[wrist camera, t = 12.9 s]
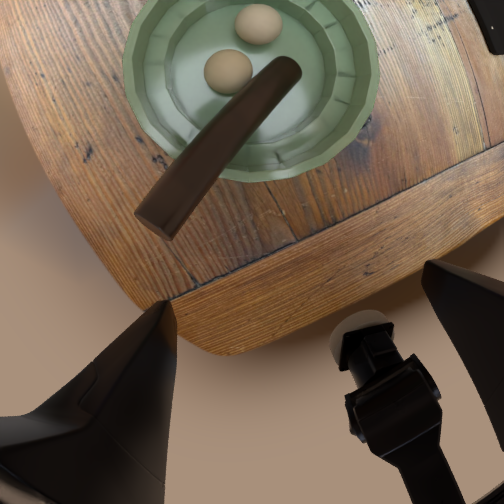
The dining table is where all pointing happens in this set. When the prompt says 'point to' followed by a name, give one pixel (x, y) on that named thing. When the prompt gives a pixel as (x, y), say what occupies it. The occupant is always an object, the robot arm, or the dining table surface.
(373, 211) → the dining table surface
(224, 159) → the stick
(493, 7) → the cell phone
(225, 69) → the bead
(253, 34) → the bead
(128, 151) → the dining table surface
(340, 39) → the bowl
